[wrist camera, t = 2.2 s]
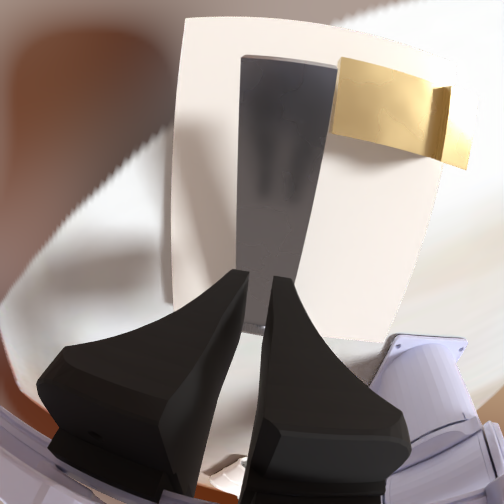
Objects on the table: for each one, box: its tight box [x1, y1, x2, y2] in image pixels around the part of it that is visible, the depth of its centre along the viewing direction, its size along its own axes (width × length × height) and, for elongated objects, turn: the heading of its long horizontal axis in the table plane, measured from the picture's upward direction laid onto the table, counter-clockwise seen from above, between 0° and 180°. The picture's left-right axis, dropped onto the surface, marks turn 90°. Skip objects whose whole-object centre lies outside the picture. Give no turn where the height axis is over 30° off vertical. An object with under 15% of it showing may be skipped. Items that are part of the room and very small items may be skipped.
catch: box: [329, 57, 477, 170], centre depth 12 cm, size 4×6×4 cm, turn 84°
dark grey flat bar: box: [236, 55, 338, 336], centre depth 14 cm, size 16×3×1 cm, turn 174°
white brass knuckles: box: [209, 457, 248, 499], centre depth 35 cm, size 3×18×15 cm
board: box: [171, 17, 456, 343], centre depth 16 cm, size 20×16×4 cm
